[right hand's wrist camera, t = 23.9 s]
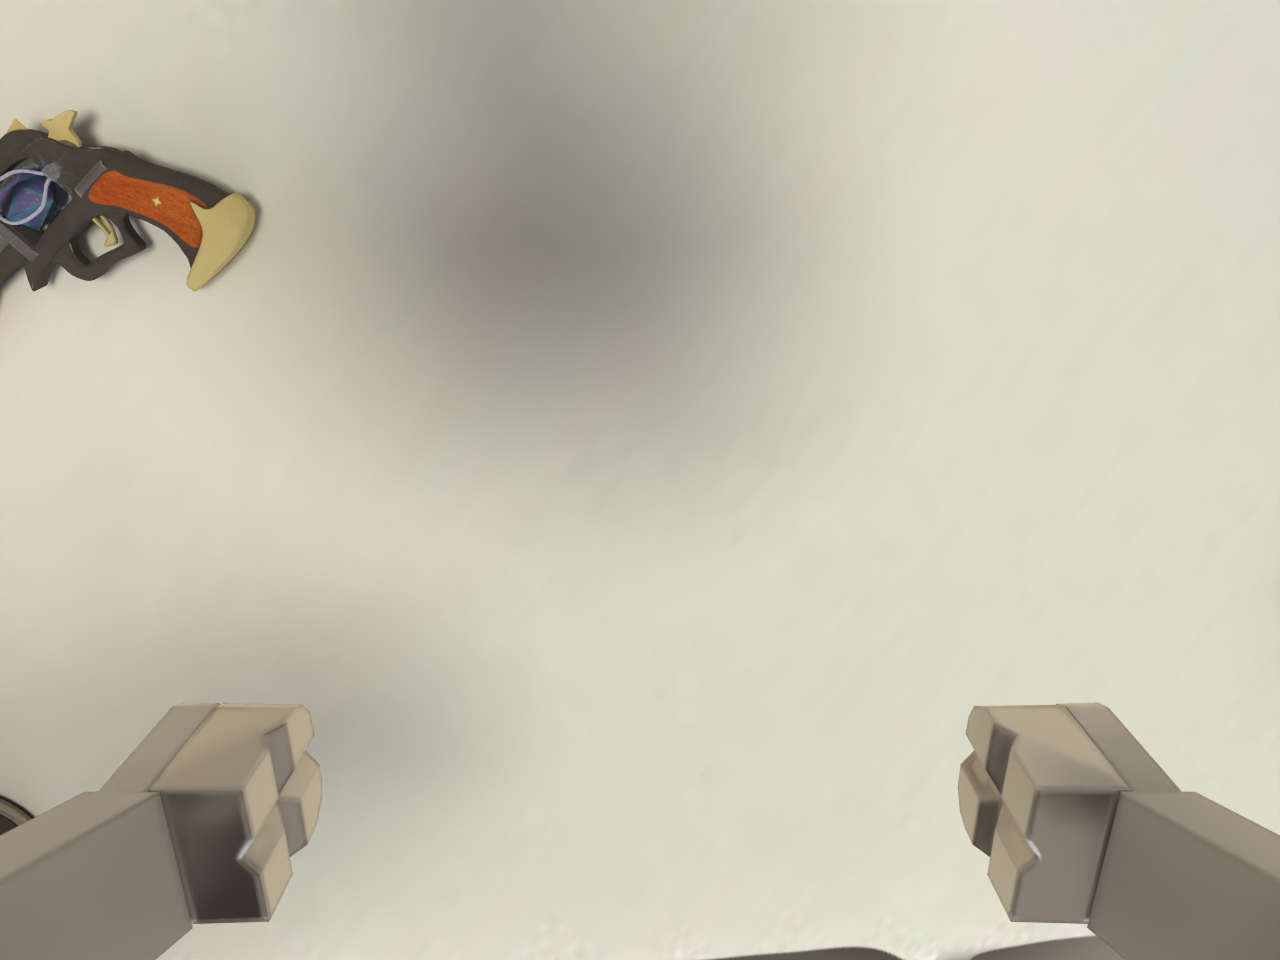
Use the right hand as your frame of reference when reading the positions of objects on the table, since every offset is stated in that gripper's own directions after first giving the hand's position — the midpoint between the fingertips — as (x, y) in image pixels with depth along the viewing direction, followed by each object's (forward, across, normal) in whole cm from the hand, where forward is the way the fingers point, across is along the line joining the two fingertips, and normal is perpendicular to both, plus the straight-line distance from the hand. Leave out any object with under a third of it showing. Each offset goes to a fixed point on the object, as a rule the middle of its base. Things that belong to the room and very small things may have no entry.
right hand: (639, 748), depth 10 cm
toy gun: (+34, -28, +2) cm, 44 cm away
